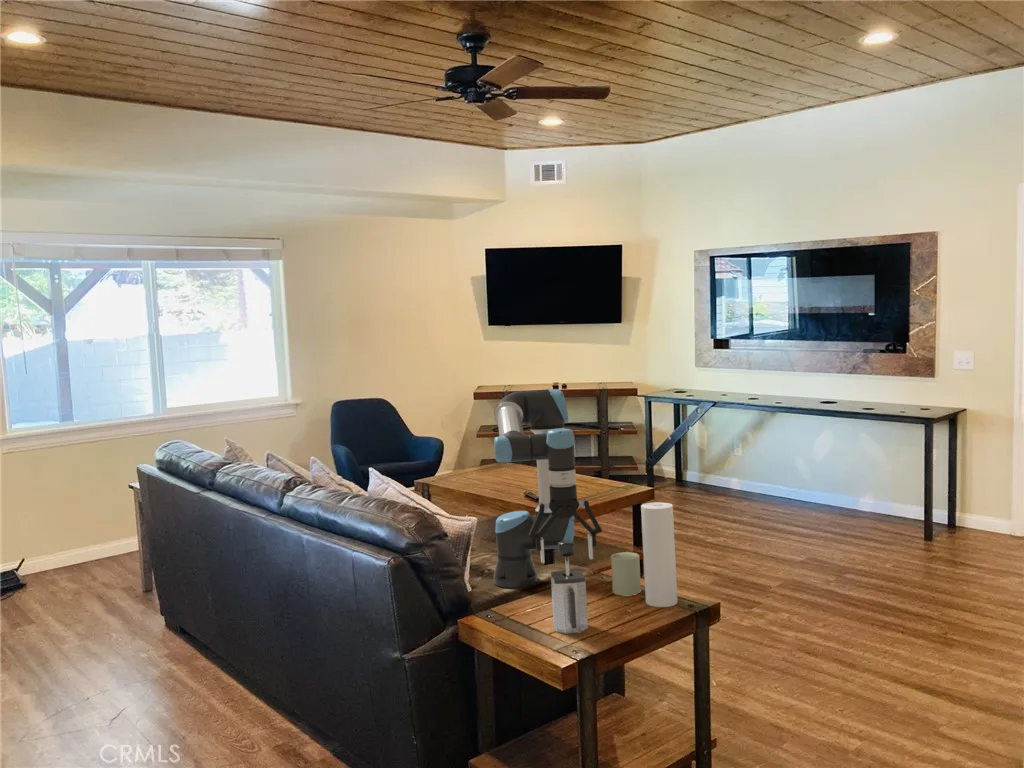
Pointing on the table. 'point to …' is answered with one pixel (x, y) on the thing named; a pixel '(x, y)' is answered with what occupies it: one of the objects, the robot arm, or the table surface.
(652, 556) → the cylinder container
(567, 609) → the press carafe
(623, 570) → the can
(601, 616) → the table surface
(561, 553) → the plunger
